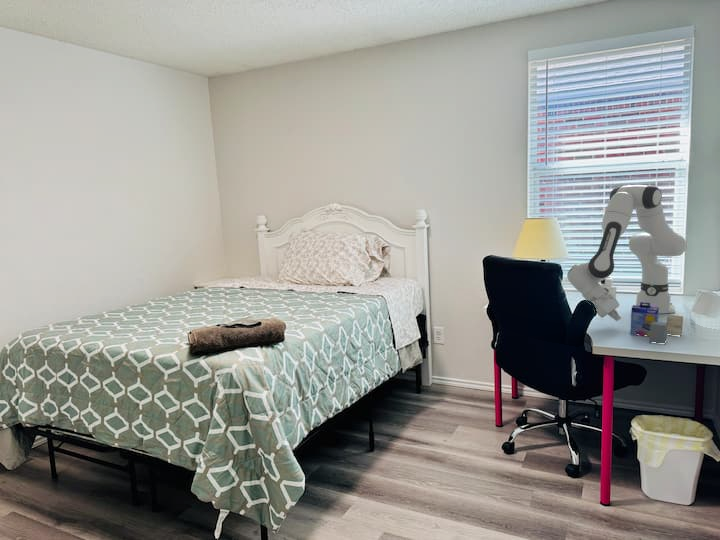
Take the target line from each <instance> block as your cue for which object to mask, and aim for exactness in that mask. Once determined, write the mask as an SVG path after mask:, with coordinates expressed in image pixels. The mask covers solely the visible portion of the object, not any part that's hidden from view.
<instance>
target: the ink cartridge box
mask: <svg viewBox="0 0 720 540" xmlns="http://www.w3.org/2000/svg"><path fill="white" fill-rule="evenodd" d="M642 304H648V305H642ZM630 312H631V313H630V333H631V334H639V335H647V336H650V326H651V323H652V322H653V321H656V322H659V315H660V314H659V308H658V307H651V306H650V303H644V302H640V305H636V304H633V305H632V307H631V311H630ZM630 333H629V334H630Z"/></svg>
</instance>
